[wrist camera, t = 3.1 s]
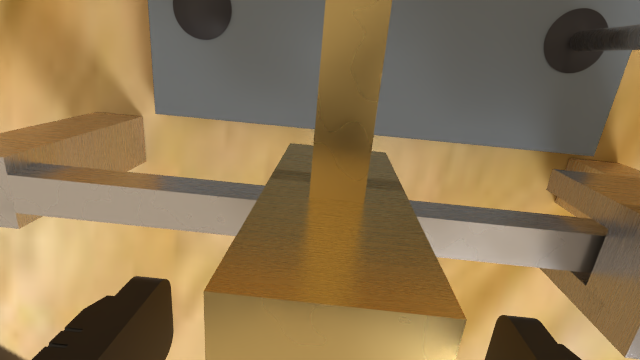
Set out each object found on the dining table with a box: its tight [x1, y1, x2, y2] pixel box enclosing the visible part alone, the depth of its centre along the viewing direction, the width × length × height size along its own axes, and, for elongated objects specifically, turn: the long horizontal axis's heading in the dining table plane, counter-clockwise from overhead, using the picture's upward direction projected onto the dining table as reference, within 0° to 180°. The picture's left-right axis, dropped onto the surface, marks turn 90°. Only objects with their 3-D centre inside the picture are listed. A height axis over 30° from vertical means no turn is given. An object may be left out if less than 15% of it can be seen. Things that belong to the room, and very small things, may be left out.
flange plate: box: [148, 0, 640, 156], centre depth 20 cm, size 10×26×1 cm, turn 85°
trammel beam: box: [0, 24, 640, 359], centre depth 16 cm, size 11×33×12 cm, turn 85°
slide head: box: [204, 0, 467, 360], centre depth 13 cm, size 11×4×15 cm, turn 175°
